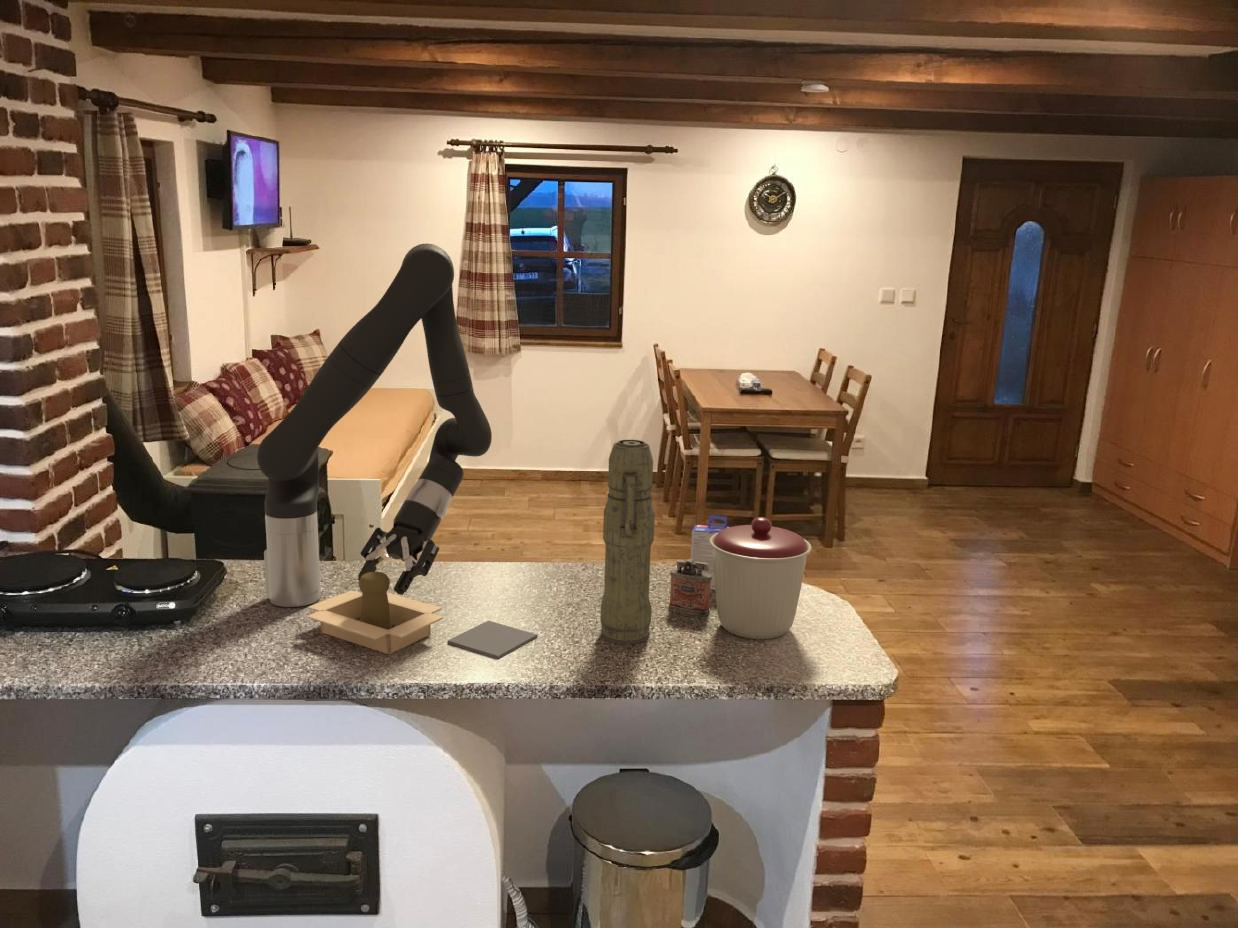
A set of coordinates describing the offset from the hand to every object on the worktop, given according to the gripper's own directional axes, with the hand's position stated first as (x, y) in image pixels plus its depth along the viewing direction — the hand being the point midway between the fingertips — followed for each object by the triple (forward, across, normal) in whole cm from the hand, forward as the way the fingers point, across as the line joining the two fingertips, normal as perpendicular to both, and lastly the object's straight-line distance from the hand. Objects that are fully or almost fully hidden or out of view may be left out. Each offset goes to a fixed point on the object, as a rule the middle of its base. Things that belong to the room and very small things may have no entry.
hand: (379, 587), depth 171 cm
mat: (0, +18, +12) cm, 22 cm away
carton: (+7, 0, +5) cm, 8 cm away
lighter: (-23, +40, +35) cm, 58 cm away
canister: (-22, +54, +34) cm, 68 cm away
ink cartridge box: (-33, +38, +46) cm, 68 cm away
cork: (+7, 0, +5) cm, 8 cm away
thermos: (-11, +36, +23) cm, 44 cm away
